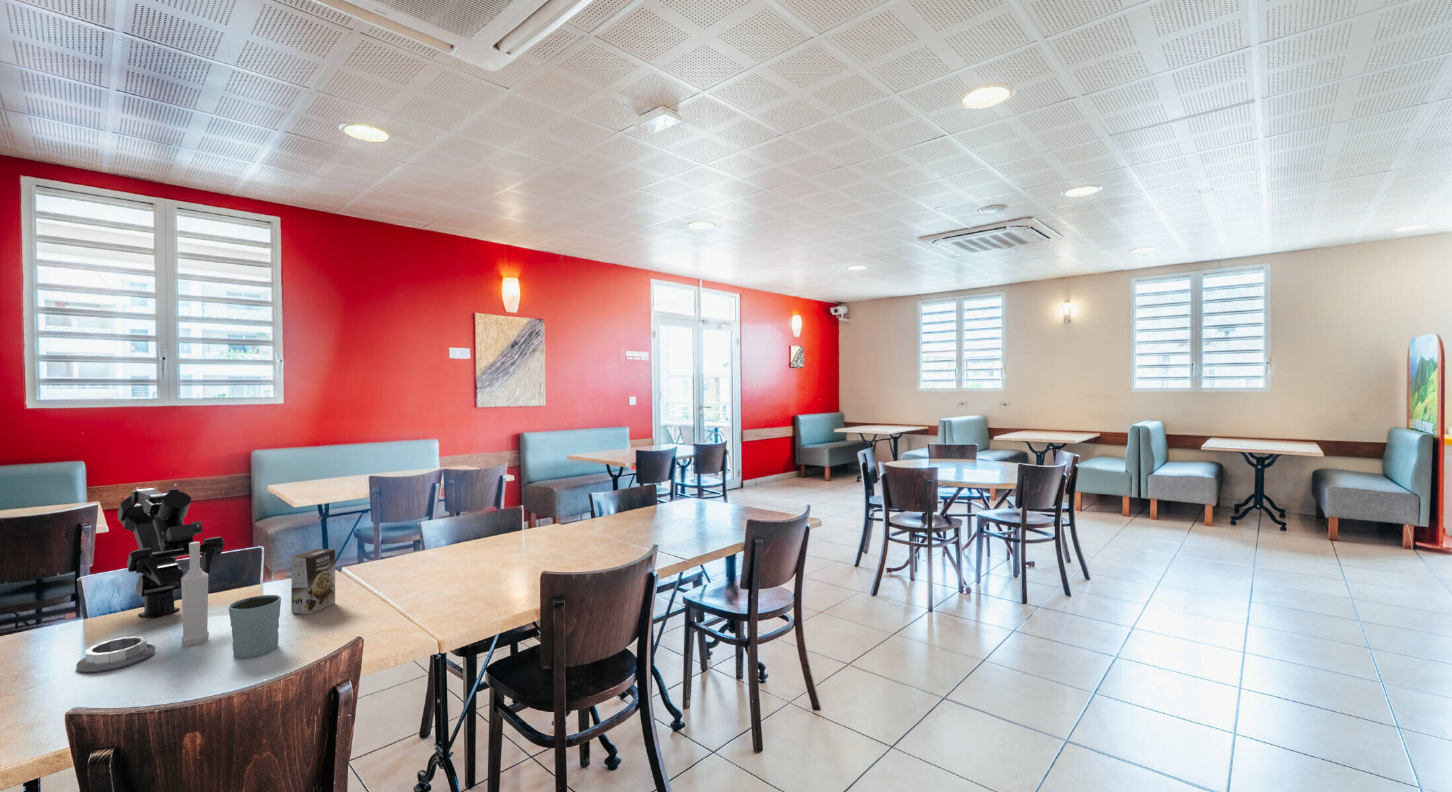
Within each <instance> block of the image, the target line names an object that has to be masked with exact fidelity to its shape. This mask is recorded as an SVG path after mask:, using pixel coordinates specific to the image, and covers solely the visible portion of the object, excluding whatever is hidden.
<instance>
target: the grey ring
mask: <svg viewBox="0 0 1452 792" xmlns="http://www.w3.org/2000/svg"><path fill="white" fill-rule="evenodd" d="M155 653H156V647H155V645H153V644H150V643H148V640H147V637H146V636H139V635H136V636H124V637H119V638H115V639H114V638H113V639H108V640H106V641H103V642H100V643H96V644H94V645H92V646H91V647H89V648H86V649H85V657H83V658H81V659H80V660H78V661H77V663H76V665H75V666H76V667H75V668H76V671H77V672H78V673H82V674H96V673H97V674H98V673H104V672H105V673H107V672H111V671H115V670H116V671H117V670H120V669H121V670H122V669H124V668H127V667H131V666H135V665H137V664H139V663H142V662H144V661H147V660H148V659H150V658H152V657H153V656H154V655H156V654H155Z"/></svg>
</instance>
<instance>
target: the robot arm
mask: <svg viewBox="0 0 1452 792" xmlns="http://www.w3.org/2000/svg"><path fill="white" fill-rule="evenodd" d="M191 501H192V497H191V496H190V495H189V494H188V493H186V492H183V491H179V488H171V489H168V491H167V492H166V493H163V492H161V491H159V490H157V489H156V488H153V487H150V488H149V487H148V488H139V489H137V488H136V489H134V490H132V491H131V492H130V495H129V496H128V497H127V498H125V499H124V500H122V501H121V502H120V503H119V507H118V509H117V520H118V522H120V523H121V524H122V526H123V528H124V530H128V531H130V532H132V533H133V534H134V538H135V540H136V543H137V546H138V549H136V550H132V551H131V552H129V554H128V558H127V561H126V568H127V571H128V572H130V573H134V572H135V573H136V574H140V575H139V576H138V579H137V583H136V585H135V590H136V591H135V592H136V595H138V596H139V597H141V598H143V602H144V603H143V605H144V606H143V608H144V610H143V612H139V613H138V614H137V616H138V617H144V618H152V619H155V618H160V617H162V616H166V615H168V614H171V613H175V612H178V611H181V608H180V607H175V593H174V591H175V590H181V578H182V577H183V576H184V575H185V574H184V573H185V572H184V571H183V570H182V568H181V567H179V565H178V563H177V558H180V557H185V556H190V554H189V543H191V542H194V538H193V537H195V536H196V535H200V534H202V532H203V530H204V529H203V524H202V522H201V521H200V520H197V521H192V522H191V523H188V524H185V523H184V518H186V516H187V513H188V510H189V508H190V504H191ZM225 544H226V543H225V539H224V538H223V537H222V536H216V537H215V536H214V537H210V538H209V537H208V538H204V539H203V542H202V544H200V555H201V556H200V557H201V564H202V567H203V569H202V570H203V572H205V573H207V574H208V576H209V575H210V570H211V566H212V565H211V564H212V560H215V559H216V558H217V557H219V556H221V555H222V552H223V549H224V547H225Z"/></svg>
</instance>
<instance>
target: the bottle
mask: <svg viewBox="0 0 1452 792" xmlns="http://www.w3.org/2000/svg"><path fill="white" fill-rule="evenodd" d="M200 543H201V542H200V541H193V542H191V543H189V554H190V555H189V569H188V570H187V573H185V574H184V575H183V577H182V578H181V589H180V590H181V609H182V611H181V613H182V635H183V636H181V644H182V646H184V647H194V646H198V645H202V644H204V643H206V642H208V641H209V637H210V636H209V635H210V632H209V630H208V619H209V618H208V617H209V616H208V613H209V612H208V611H209V607H208V606H209V575H208V574H207V573H205V572H204V570H203V569H202V568H201V559H200V557H201V556H200V555H201V553H200V545H201V544H200Z"/></svg>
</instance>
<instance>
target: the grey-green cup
mask: <svg viewBox="0 0 1452 792" xmlns="http://www.w3.org/2000/svg"><path fill="white" fill-rule="evenodd" d="M281 605H282V597H281V596H280V595H277V594H264V595H257V596H251V597H246V598H242V599H240V600H237V601H234V602H233V603H231V604H229V605H228V611H229V613H228V614H229V621H230V628H231V637H232V643H231V644H232V652H233V654H232V655H233V657H234V658H237V659H253V658H258V657H263V656H265V655H267V654H268V655H269V654H270V653H272V652H273V651H275V650H276V649H278V646H279V639H280V638H279V636H280V635H279V628H280V623H279V622H280V621H279V619H280V616H281Z"/></svg>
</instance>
